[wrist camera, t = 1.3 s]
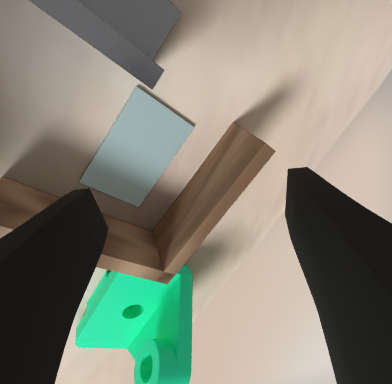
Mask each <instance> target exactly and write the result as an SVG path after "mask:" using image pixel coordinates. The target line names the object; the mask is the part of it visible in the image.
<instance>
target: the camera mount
mask: <svg viewBox="0 0 392 384" xmlns="http://www.w3.org/2000/svg"><path fill="white" fill-rule="evenodd" d="M192 287H193V276H192V274H191V271H190V269H189V267H188V266H185V265H183V266H182V267H181V269H180V270H179V271H178V272H177V274H176V275H175V276H174V277H173V279H172V280H171V281H170V282H169V283H168V285H167V284H163V283H159V282H155V281H151V280H147V279H143V278H139V277H135V276H131V275H127V274H123V273H119V272H115V271H111V272H107V271H106V272H105V274H104V276H103V277H102V279H101V281H100V282H99V284H98V286H97V287H96V289H95V291H94V292H93V294H92V296H91V297H90V299H89V301H88V302H87V311H86V313H85V315H84V316H83V318H82V319H81V321H80V323H79V324H78V326H77V328H76V342H75V344H76V346H78V347H81V348H121V349H128V351H129V352H130V354H131V355H132V357H133V358H134V360H135V361H136V362H135V370H134V379H135V384H189V381H190V376H191V352H192Z"/></svg>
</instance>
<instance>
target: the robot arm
mask: <svg viewBox="0 0 392 384" xmlns="http://www.w3.org/2000/svg"><path fill="white" fill-rule="evenodd" d="M285 217H286V220H287V225H288V230H289V234H290V238H291V241H292V244H293V246H294V249H295V252H296V254H297V257H298V260H299V262H300V265H301V268H302V270H303V273H304V275H305V278H306V281H307V283H308V286H309V288H310V291H311V294H312V296H313V299H314V302H315V305H316V308H317V311H318V314H319V318H320V321H321V325H322V329H323V332H324V336H325V339H326V343H327V347H328V351H329V355H330V358H331V362H332V366H333V370H334V374H335V378H336V381H337V384H392V223H390V222H388V221H386V220H385V219H383V218H382V217H380V216H378V215H377V214H375V213H373V212H371V211H370V210H368V209H366V208H365V207H364V206H362V205H360V204H359V203H357V202H356V201H354V200H353V199H351V198H350V197H348V196H347V195H346V194H344V193H343V192H341V191H340V190H338V189H337V188H335V187H334V186H333V185H331V184H330V183H329V182H327V181H326V180H324V179H323V178H322V177H320V176H319V175H318V174H316V173H315V172H313V171H312V170H311V169H309V168H308V167H303V168H293V169H288V176H287V192H286V208H285ZM107 233H108V226H107V224H106V222H105V219H104V217H103V215H102V213H101V211H100V209H99V207H98V205H97V203H96V201H95V199H94V197H93V195H92V193H91V191H90V189H80V190H74V191H72V192H70V193H68V194H66V195H65V196H63V197H61V198H60V199H58V200H57V201H55V202H54V203H52V204H51V205H49V206H48V207H46V208H45V209H44V210H42V211H41V212H39V213H38V214H36V215H35V216H33V217H32V218H30V219H29V220H27V221H26V222H25V223H23V224H22V225H20V226H19V227H17V228H16V229H14V230H13V231H11V232H9V233H8V234H6V235H5V236H3V237H2V238H0V384H55V380H56V376H57V373H58V369H59V366H60V362H61V359H62V355H63V352H64V348H65V345H66V342H67V339H68V336H69V332H70V329H71V326H72V323H73V320H74V317H75V315H76V312H77V310H78V307H79V305H80V302H81V300H82V298H83V295H84V293H85V291H86V289H87V286H88V284H89V282H90V279H91V277H92V275H93V273H94V270H95V268H96V266H97V263H98V261H99V258H100V256H101V254H102V251H103V248H104V244H105V241H106V237H107Z"/></svg>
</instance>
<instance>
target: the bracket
mask: <svg viewBox="0 0 392 384" xmlns="http://www.w3.org/2000/svg"><path fill="white" fill-rule="evenodd" d="M30 1H31V2H32V3H34V4H35V5H36V6H38V7H39V8H41V9H42V10H43V11H45V12H46V13H47V14H49V15H50V16H52V17H53V18H54V19H56V20H57V21H58V22H60V23H61V24H63V25H64V26H65V27H67V28H68V29H69V30H71V31H72V32H74V33H75V34H76V35H78V36H79V37H80V38H82V39H83V40H85V41H86V42H87V43H89V44H90V45H92V46H93V47H94V48H96V49H97V50H98V51H100V52H101V53H103V54H104V55H105V56H107V57H108V58H109V59H111V60H112V61H114V62H115V63H116V64H118V65H119V66H120V67H122V68H123V69H125V70H126V71H127V72H129V73H130V74H131V75H133V76H134V77H136V78H137V79H138V80H140V81H141V82H142V83H144V84H145V85H147V86H148V87H149V88H151V89H153V88H154V86H155V85H156V83H157V81H158V80H159V78H160V77H161V75H162V73H163V72H164V69H162V68H161V67H160V66H159V65H157V64H156V63H155V62H154V61H152V60H153V59H154V57H155V55H156V54H157V52H158V50H159V49H160V47H161V45H162V44H163V42H164V40H165V39H166V37H167V35H168V34H169V32H170V30H171V29H172V27H173V25H174V24H175V22H176V20H177V19H178V17H179V15H180V14H181V12H180V11H179V10H178V9H177V8H176V7H175V6H174V5H173V4H172V3H171V2H170V1H169V0H30Z"/></svg>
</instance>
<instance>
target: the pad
mask: <svg viewBox="0 0 392 384" xmlns="http://www.w3.org/2000/svg"><path fill="white" fill-rule="evenodd" d="M193 129H194V126H192V125H191V124H189V123H188V122H187V121H185V120H184V119H182V118H181V117H179V116H178V115H177V114H175V113H174V112H172V111H171V110H170V109H168V108H167V107H165V106H164V105H162V104H161V103H160V102H158V101H157V100H155V99H154V98H153V97H151V96H150V95H148V94H147V93H146V92H144V91H143V90H141V89H140V88H138V87H137V86H136V88H135V89H134V91H133V93H132V94H131V96H130V98H129V99H128V101H127V103H126V104H125V106H124V108H123V109H122V111H121V113H120V114H119V116H118V118H117V119H116V121H115V123H114V124H113V126H112V128H111V129H110V131H109V133H108V134H107V136H106V138H105V139H104V141H103V143H102V144H101V146H100V148H99V149H98V151H97V153H96V154H95V156H94V158H93V159H92V161H91V163H90V164H89V166H88V168H87V169H86V171H85V173H84V174H83V176H82V177H81V179H80V181H79V183H81V184H84V185H86V186H89V187H91V188H93V189H96V190H98V191H101V192H103V193H105V194H108V195H110V196H113V197H115V198H117V199H120V200H122V201H125V202H127V203H129V204H132V205H134V206H137V207H139V206H140V205H141V203H142V202H143V200H144V199H145V198H146V196H147V195H148V193H149V192H150V190H151V189H152V188H153V186H154V185H155V183H156V182H157V180H158V179H159V177H160V176H161V175H162V173H163V172H164V170H165V169H166V167H167V166H168V165H169V163H170V162H171V160H172V159H173V157H174V156H175V155H176V153H177V152H178V150H179V149H180V147H181V146H182V144H183V143H184V142H185V140H186V139H187V137H188V136H189V134H190V133H191V132H192V130H193Z"/></svg>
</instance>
